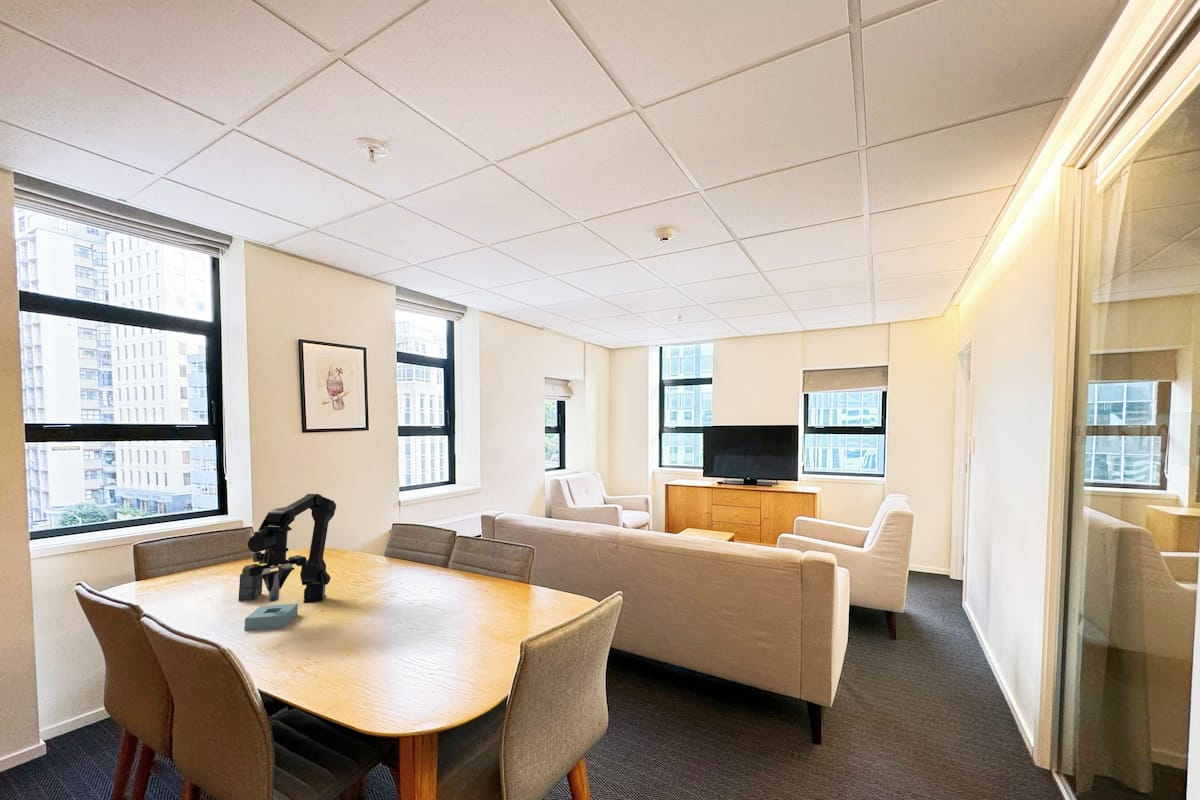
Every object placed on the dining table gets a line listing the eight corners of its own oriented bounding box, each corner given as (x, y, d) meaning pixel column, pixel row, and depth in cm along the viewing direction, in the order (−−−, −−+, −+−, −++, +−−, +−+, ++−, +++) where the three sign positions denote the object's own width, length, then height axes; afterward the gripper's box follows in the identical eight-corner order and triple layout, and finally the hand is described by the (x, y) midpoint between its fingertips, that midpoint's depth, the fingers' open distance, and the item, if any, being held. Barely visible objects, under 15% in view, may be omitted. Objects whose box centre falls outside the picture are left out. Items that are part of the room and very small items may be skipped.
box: (246, 594, 194) (248, 568, 195) (262, 593, 195) (263, 567, 196) (237, 601, 186) (239, 574, 187) (254, 600, 188) (256, 573, 189)
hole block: (297, 614, 174) (298, 603, 174) (284, 627, 162) (285, 615, 163) (260, 617, 171) (261, 605, 171) (244, 630, 159) (245, 618, 160)
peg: (280, 598, 169) (282, 570, 170) (276, 601, 166) (278, 572, 167) (270, 599, 168) (272, 570, 169) (267, 601, 165) (268, 572, 166)
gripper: (293, 538, 181) (290, 579, 180) (236, 547, 165) (233, 593, 164) (308, 541, 175) (306, 584, 174) (251, 552, 159) (248, 599, 158)
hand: (274, 590), depth 167 cm, fingers closed on peg, 3 cm apart
